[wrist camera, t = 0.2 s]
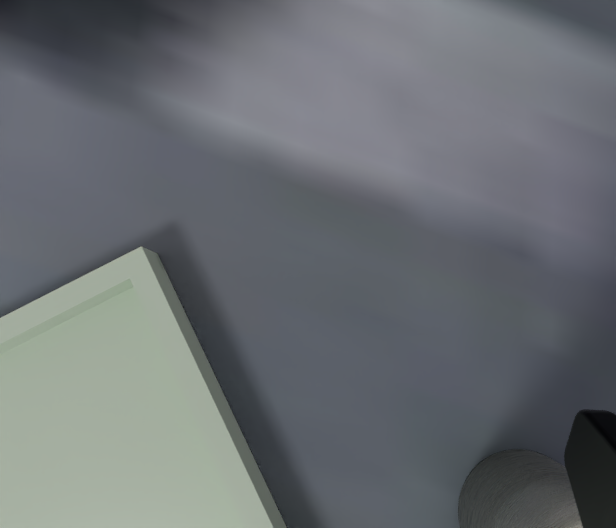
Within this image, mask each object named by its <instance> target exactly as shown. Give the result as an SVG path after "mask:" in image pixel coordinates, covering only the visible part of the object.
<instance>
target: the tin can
mask: <svg viewBox="0 0 616 528" xmlns="http://www.w3.org/2000/svg"><path fill="white" fill-rule="evenodd" d="M458 519H459V525H460V528H583V526H582V523H581V519H580V516H579V512H578V509H577V505H576V502H575V498H574V495H573V491H572V488H571V485H570V481H569V478H568V474H567V471H566V467H564V466H563V465H561V464H559V463H557V462H556V461H554V460H552V459H550V458H549V457H547V456H545V455H542V454H540V453H538V452H534V451H530V450H523V449H512V450H505V451H501V452H498V453H495V454H493V455H491V456H489V457H487V458H486V459H484V460H483V461H481V462H480V463H479V464H478V465H477V466H476V467H475V468H474V469H473V470H472V471H471V473H470V474H469V476H468V477H467V479H466V481H465V483H464V485H463V487H462V490H461V493H460V497H459V504H458Z"/></svg>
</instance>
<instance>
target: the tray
mask: <svg viewBox="0 0 616 528" xmlns="http://www.w3.org/2000/svg"><path fill="white" fill-rule="evenodd" d="M0 528H287V527H286V525H285V523H284V521H283V519H282V516H281V514H280V512H279V510H278V508H277V506H276V504H275V502H274V499H273V497H272V495H271V493H270V491H269V489H268V487H267V485H266V483H265V480H264V478H263V476H262V474H261V472H260V470H259V468H258V466H257V463H256V461H255V459H254V457H253V455H252V453H251V451H250V449H249V447H248V444H247V442H246V440H245V438H244V436H243V434H242V432H241V430H240V427H239V425H238V423H237V421H236V419H235V417H234V415H233V413H232V411H231V408H230V406H229V404H228V402H227V400H226V398H225V396H224V394H223V391H222V389H221V387H220V385H219V383H218V381H217V379H216V377H215V375H214V372H213V370H212V368H211V366H210V364H209V362H208V360H207V358H206V355H205V353H204V351H203V349H202V347H201V345H200V343H199V341H198V339H197V336H196V334H195V332H194V330H193V328H192V326H191V324H190V322H189V319H188V317H187V315H186V313H185V311H184V309H183V307H182V305H181V303H180V300H179V298H178V296H177V294H176V292H175V290H174V288H173V286H172V284H171V281H170V279H169V277H168V275H167V273H166V271H165V269H164V267H163V264H162V262H161V260H160V258H159V256H158V254H157V253H155V252H153V251H151V250H149V249H146V248H144V247H142V246H141V247H139V248H137V249H135V250H133V251H131V252H129V253H127V254H125V255H123V256H121V257H119V258H117V259H115V260H113V261H111V262H109V263H108V264H106V265H104V266H102V267H100V268H98V269H96V270H94V271H92V272H90V273H88V274H86V275H84V276H82V277H80V278H78V279H76V280H74V281H72V282H70V283H68V284H66V285H64V286H62V287H60V288H58V289H56V290H54V291H52V292H50V293H48V294H46V295H44V296H42V297H41V298H39V299H37V300H35V301H33V302H31V303H29V304H27V305H25V306H23V307H21V308H19V309H17V310H15V311H13V312H11V313H9V314H7V315H5V316H3V317H1V318H0Z"/></svg>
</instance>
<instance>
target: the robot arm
mask: <svg viewBox="0 0 616 528" xmlns="http://www.w3.org/2000/svg"><path fill="white" fill-rule="evenodd" d="M564 459H565V467H566V471H567V474H568V478H569V481H570V485H571V488H572V491H573V495H574V498H575V502H576V505H577V509H578V512H579V516H580V519H581V523H582V526H583V528H616V415H615V414H613V413H612V412H609V411H605V410H581V411H579V412H578V413H577V414H576V416H575V419H574V422H573V426H572V429H571V432H570V435H569V439H568V442H567V445H566V449H565V455H564Z"/></svg>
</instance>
